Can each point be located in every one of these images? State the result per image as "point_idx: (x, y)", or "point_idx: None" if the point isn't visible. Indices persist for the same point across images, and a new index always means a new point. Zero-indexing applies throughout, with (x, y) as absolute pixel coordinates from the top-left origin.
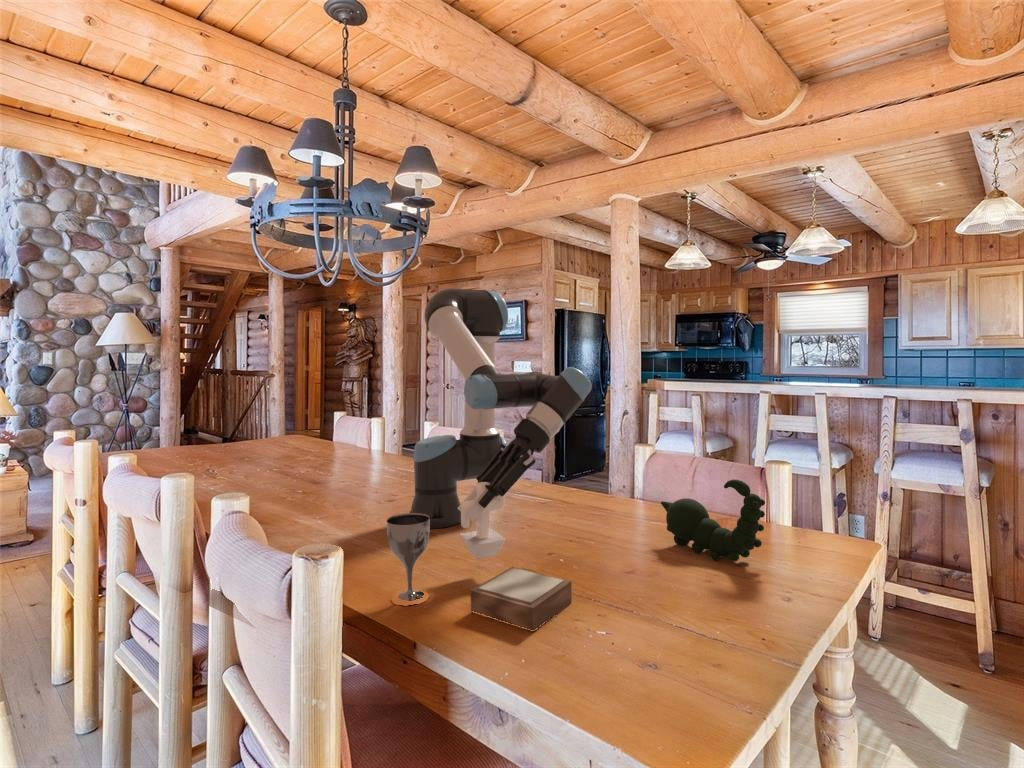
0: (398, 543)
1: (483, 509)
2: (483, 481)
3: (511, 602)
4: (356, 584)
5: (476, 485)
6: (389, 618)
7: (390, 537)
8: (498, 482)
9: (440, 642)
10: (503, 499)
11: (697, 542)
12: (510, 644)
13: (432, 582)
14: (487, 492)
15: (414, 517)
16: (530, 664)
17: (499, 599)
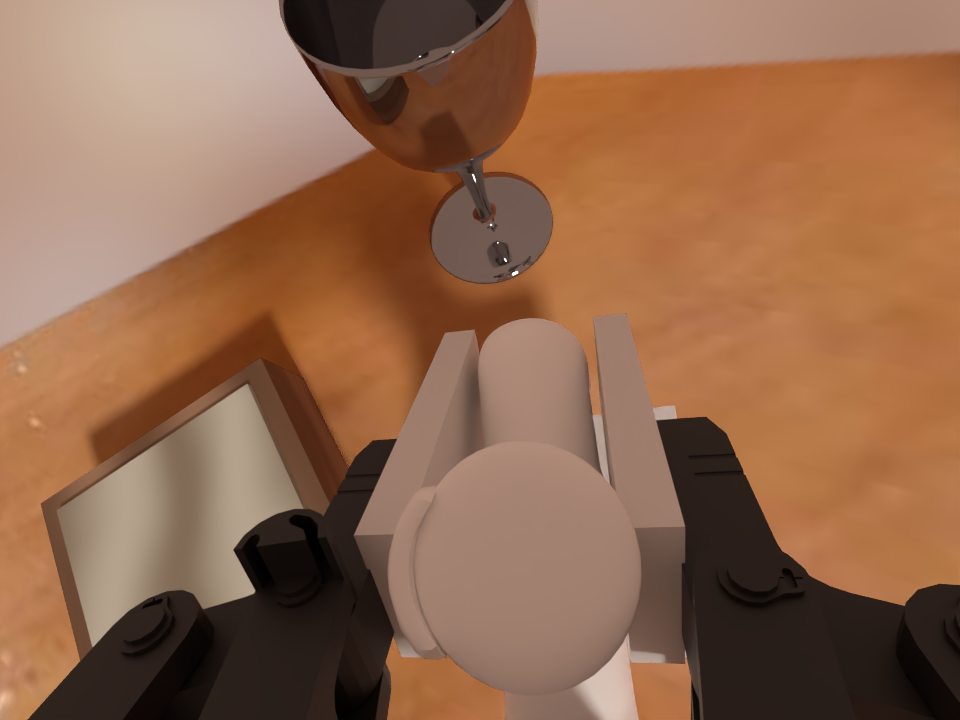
0: (363, 19)
1: None
2: (696, 646)
3: (114, 456)
4: (675, 79)
5: (513, 442)
6: (384, 165)
7: None
8: (87, 716)
9: (205, 266)
10: None
11: None
12: (102, 421)
13: (589, 314)
14: (352, 547)
15: (517, 18)
16: (14, 431)
17: (157, 428)
